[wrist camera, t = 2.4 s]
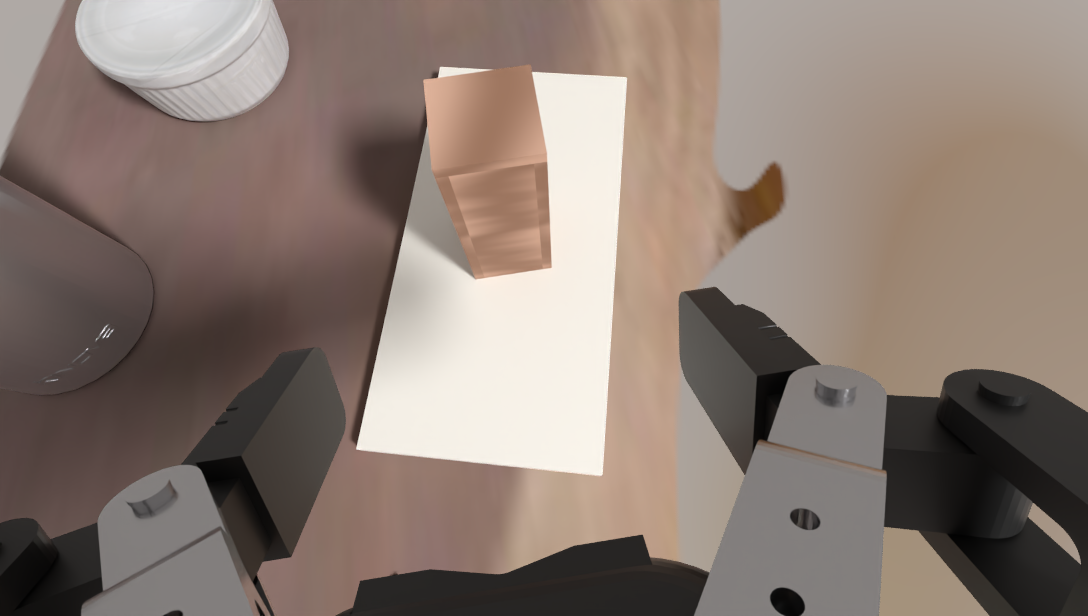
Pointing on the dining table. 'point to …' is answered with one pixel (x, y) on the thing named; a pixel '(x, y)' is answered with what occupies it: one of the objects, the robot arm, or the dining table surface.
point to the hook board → (509, 311)
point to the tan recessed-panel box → (492, 167)
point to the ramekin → (188, 52)
